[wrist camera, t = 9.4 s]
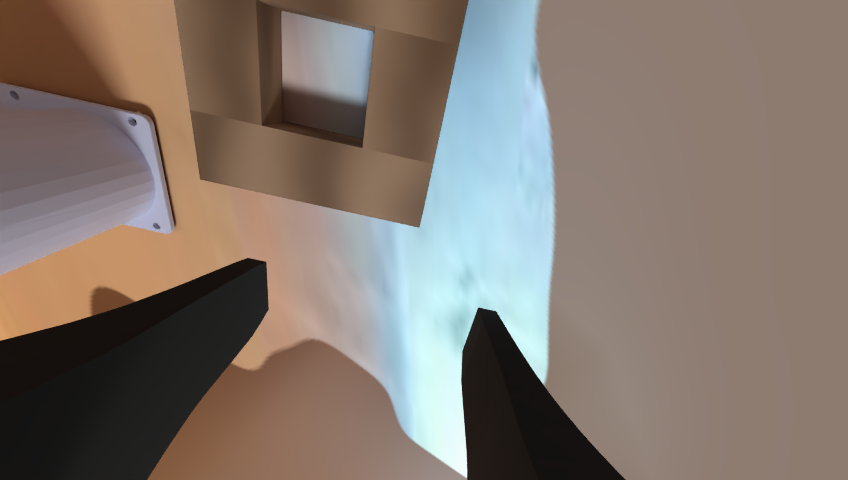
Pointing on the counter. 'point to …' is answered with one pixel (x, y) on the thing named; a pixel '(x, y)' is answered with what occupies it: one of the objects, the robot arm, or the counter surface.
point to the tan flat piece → (308, 147)
